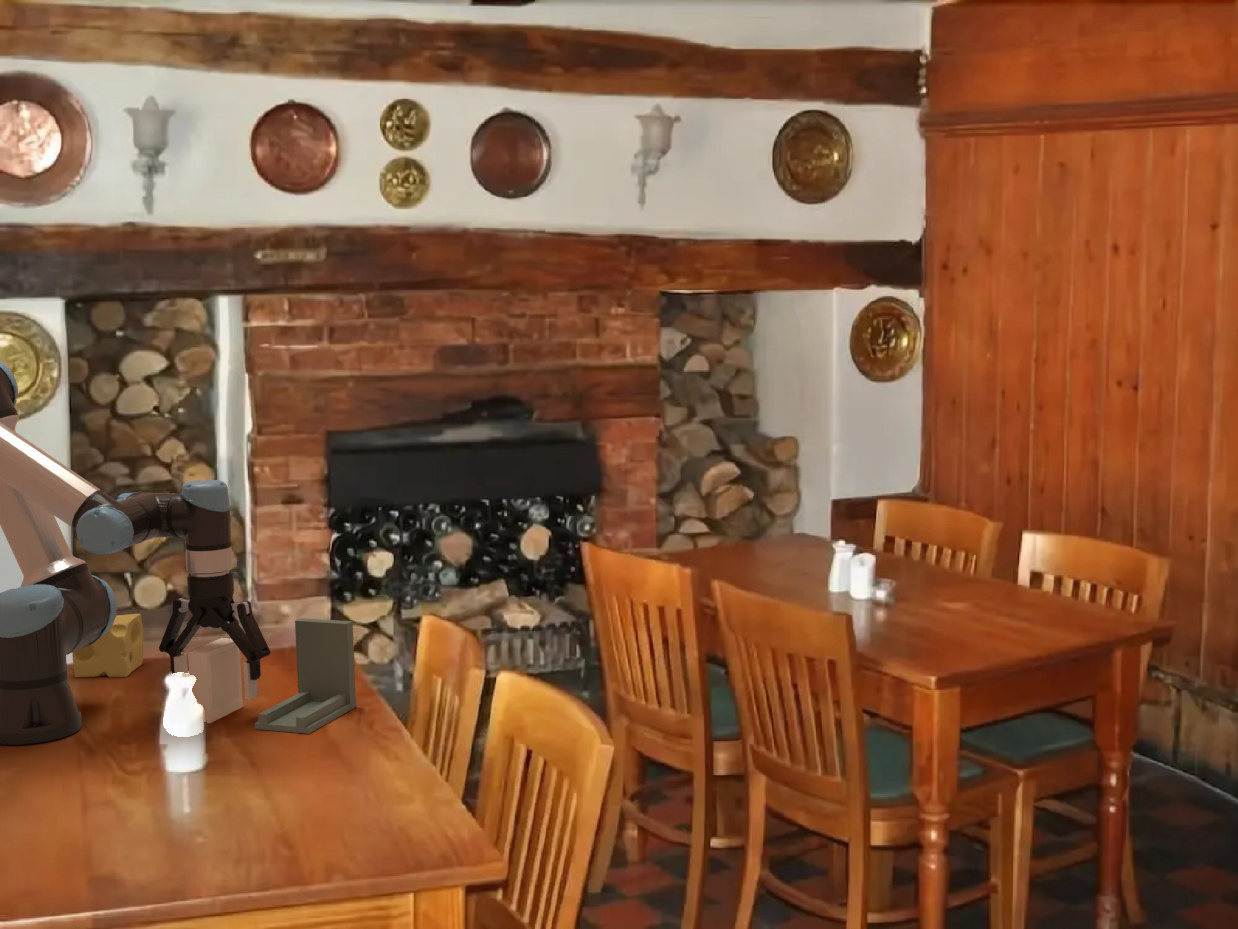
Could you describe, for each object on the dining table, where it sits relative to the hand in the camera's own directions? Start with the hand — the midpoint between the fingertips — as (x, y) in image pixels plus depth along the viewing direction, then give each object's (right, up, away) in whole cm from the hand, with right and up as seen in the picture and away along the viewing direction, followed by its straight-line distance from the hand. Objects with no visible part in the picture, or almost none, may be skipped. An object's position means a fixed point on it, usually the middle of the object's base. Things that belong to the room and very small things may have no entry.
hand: (216, 695), depth 262 cm
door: (0, -3, 0) cm, 3 cm away
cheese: (-29, 0, +31) cm, 42 cm away
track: (+16, -3, -3) cm, 16 cm away
